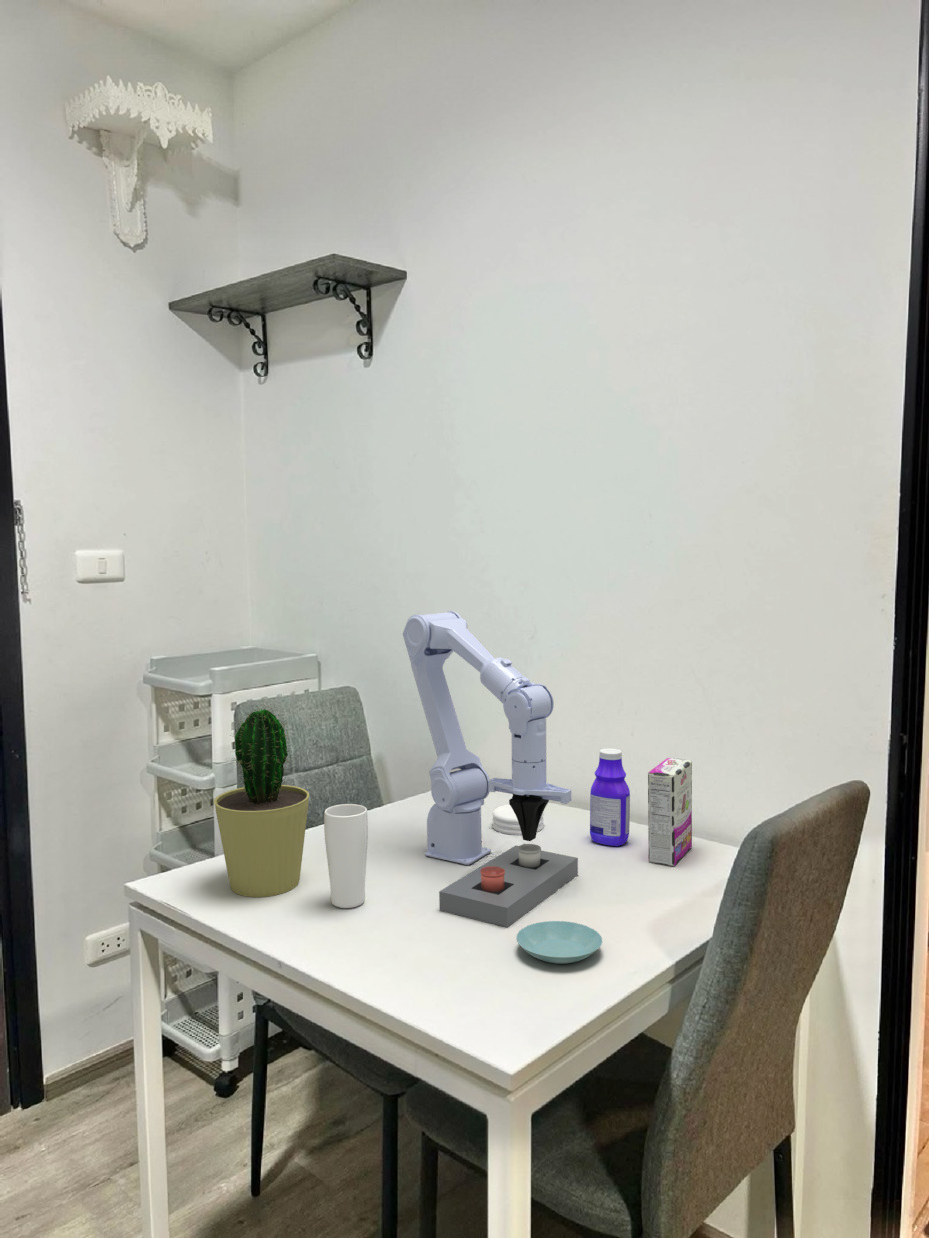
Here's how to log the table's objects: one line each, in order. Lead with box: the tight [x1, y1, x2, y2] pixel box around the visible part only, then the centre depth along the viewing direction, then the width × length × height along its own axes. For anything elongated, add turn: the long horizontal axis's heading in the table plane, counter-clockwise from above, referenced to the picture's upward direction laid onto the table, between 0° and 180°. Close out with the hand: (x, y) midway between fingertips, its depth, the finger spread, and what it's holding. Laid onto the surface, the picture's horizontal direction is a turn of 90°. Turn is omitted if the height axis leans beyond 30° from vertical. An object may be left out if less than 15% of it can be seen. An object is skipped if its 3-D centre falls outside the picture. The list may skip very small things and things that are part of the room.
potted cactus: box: [213, 707, 310, 898], centre depth 152 cm, size 15×15×30 cm
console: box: [438, 845, 579, 928], centre depth 148 cm, size 24×12×3 cm, turn 148°
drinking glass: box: [323, 803, 369, 909], centre depth 144 cm, size 7×7×15 cm
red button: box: [480, 866, 505, 892], centre depth 143 cm, size 4×4×3 cm
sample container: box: [517, 843, 542, 867], centre depth 153 cm, size 4×4×3 cm
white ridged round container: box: [491, 804, 544, 836], centre depth 181 cm, size 10×10×4 cm
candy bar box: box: [647, 757, 693, 867], centre depth 164 cm, size 11×5×16 cm, turn 150°
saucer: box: [516, 920, 603, 965], centre depth 127 cm, size 12×12×2 cm
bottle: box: [589, 747, 631, 847], centre depth 171 cm, size 7×6×17 cm
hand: (529, 838), depth 153 cm, fingers closed
